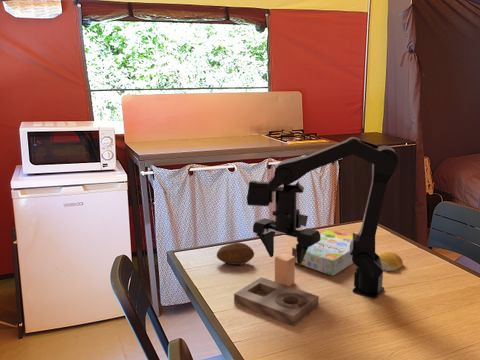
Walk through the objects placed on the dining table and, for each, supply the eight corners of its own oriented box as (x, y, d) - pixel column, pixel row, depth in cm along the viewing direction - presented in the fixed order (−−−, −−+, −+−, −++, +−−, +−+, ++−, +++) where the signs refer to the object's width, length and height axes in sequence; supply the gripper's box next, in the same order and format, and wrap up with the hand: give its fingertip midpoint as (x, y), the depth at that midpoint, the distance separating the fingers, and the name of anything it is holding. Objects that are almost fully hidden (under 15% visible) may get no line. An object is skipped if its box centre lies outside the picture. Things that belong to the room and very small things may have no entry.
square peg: (294, 282, 127) (294, 256, 125) (286, 288, 124) (287, 261, 122) (282, 278, 130) (282, 253, 128) (274, 284, 127) (274, 257, 125)
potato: (216, 260, 143) (215, 239, 141) (252, 258, 144) (252, 237, 142) (217, 269, 136) (216, 247, 135) (255, 267, 138) (255, 245, 136)
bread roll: (406, 264, 138) (407, 252, 137) (393, 274, 132) (394, 261, 131) (381, 257, 144) (381, 245, 143) (367, 266, 138) (368, 254, 137)
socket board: (318, 305, 115) (318, 296, 114) (293, 325, 106) (293, 316, 105) (261, 285, 126) (261, 277, 125) (234, 302, 117) (234, 293, 116)
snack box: (291, 263, 140) (333, 277, 130) (291, 246, 139) (333, 259, 129) (328, 244, 155) (368, 254, 145) (328, 228, 154) (369, 238, 144)
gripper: (331, 205, 122) (329, 259, 126) (274, 194, 133) (273, 244, 137) (310, 216, 114) (309, 273, 117) (251, 203, 125) (251, 256, 129)
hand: (285, 260), depth 125 cm, fingers open, 9 cm apart
